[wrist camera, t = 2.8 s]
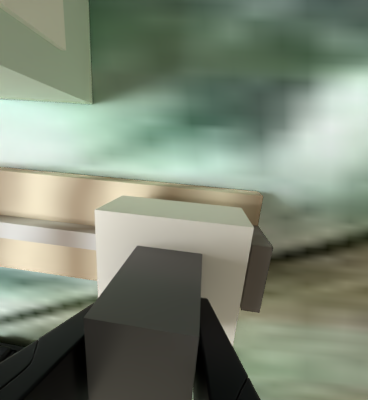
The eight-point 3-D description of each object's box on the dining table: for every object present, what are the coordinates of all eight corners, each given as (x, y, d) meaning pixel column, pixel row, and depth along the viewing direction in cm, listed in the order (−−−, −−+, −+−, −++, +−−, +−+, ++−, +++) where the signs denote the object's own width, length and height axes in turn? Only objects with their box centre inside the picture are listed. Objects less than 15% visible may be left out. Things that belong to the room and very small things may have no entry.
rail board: (257, 191, 14) (281, 209, 9) (240, 288, 16) (253, 340, 11) (-45, 162, 16) (-140, 166, 11) (-26, 251, 18) (-101, 283, 13)
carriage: (238, 202, 12) (298, 297, 4) (223, 296, 14) (247, 489, 6) (130, 191, 13) (4, 255, 5) (129, 282, 14) (36, 440, 7)
